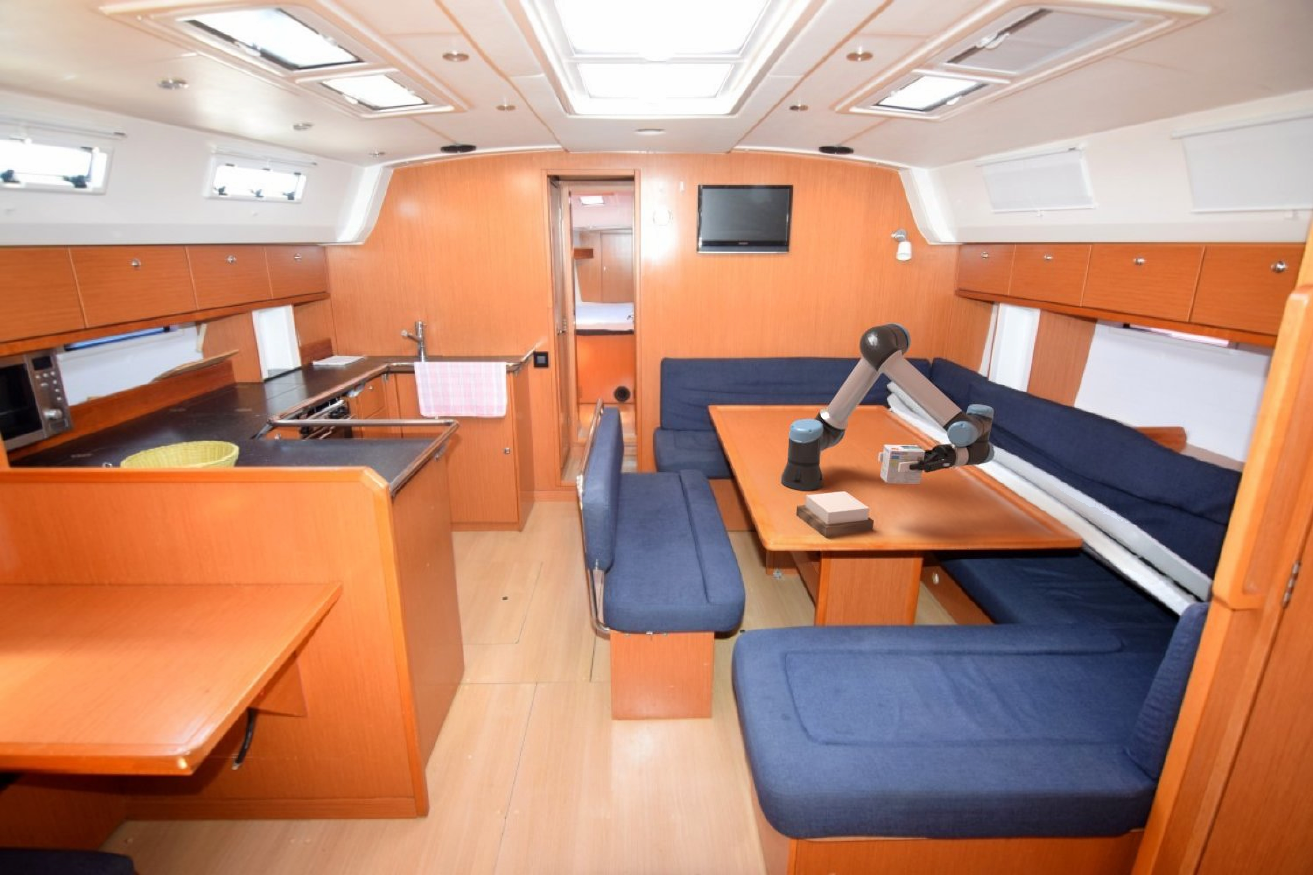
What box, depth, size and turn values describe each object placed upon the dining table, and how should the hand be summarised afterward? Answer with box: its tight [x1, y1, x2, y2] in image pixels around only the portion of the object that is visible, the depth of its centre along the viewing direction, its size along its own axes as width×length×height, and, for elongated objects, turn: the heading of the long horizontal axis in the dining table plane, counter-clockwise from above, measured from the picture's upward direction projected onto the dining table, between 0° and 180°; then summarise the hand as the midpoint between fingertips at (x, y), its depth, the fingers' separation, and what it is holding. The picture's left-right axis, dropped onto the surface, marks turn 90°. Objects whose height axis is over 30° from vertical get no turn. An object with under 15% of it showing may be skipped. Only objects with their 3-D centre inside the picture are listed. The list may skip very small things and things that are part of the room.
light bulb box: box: [879, 444, 925, 485], centre depth 190 cm, size 11×7×11 cm, turn 89°
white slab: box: [804, 490, 870, 525], centre depth 195 cm, size 14×14×4 cm
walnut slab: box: [796, 504, 874, 538], centre depth 196 cm, size 17×17×4 cm
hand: (889, 462), depth 189 cm, fingers closed on light bulb box, 9 cm apart
